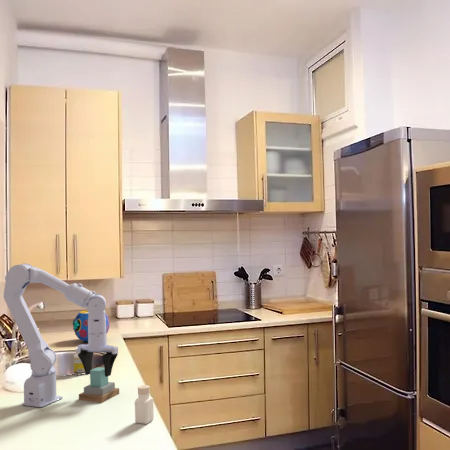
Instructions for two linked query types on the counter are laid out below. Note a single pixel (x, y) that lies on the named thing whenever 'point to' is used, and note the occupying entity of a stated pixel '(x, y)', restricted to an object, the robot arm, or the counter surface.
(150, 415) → the white square bottle
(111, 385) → the slate-grey block
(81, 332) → the ceramic pot
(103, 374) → the teal block
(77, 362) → the supplement bottle
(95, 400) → the walnut block
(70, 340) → the counter surface
